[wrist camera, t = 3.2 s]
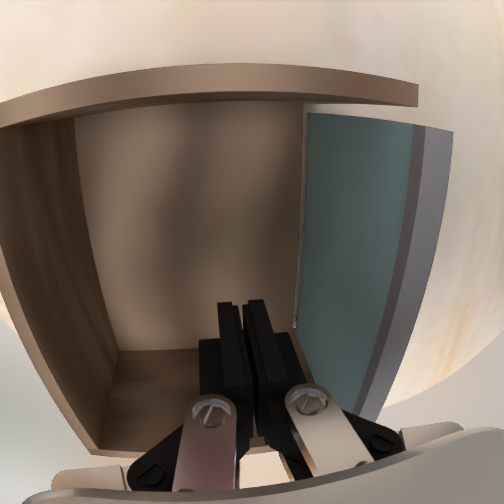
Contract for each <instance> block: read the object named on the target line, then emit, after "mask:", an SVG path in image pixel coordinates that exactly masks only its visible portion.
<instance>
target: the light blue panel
mask: <svg viewBox="0 0 504 504" xmlns="http://www.w3.org/2000/svg"><path fill="white" fill-rule="evenodd" d="M452 144H453V132H451V131H447V130H442V129H437V128H431V127H426V126H420V125H415V124H409V123H402V122H396V121H389V120H381V119H374V118H365V117H356V116H346V115H335V114H321V113H308V143H307V173H306V196H305V216H304V233H303V249H302V263H301V277H300V289H299V301H298V313H297V323H296V335H297V338H298V340H299V343H300V345H301V348H302V350H303V353H304V355H305V358H306V360H307V363H308V365H309V368H310V371H311V373H312V376H313V378H314V381H315V383H316V385H320V386H322V387H324V388H325V389H327V390H328V391H329V392H330V393H331V395H332V396H333V398H334V399H335V401H336V403H337V404H338V406H339V407H340V409H342V410H345V411H347V412H350V413H352V414H354V415H357V416H359V417H362V418H364V419H367V420H369V421H372V422H374V423H375V421H376V419H377V417H378V415H379V413H380V411H381V409H382V407H383V405H384V402H385V400H386V398H387V396H388V393H389V391H390V389H391V386H392V384H393V382H394V379H395V377H396V374H397V372H398V369H399V367H400V364H401V362H402V359H403V356H404V354H405V351H406V348H407V346H408V343H409V340H410V337H411V334H412V331H413V328H414V325H415V322H416V319H417V316H418V313H419V310H420V307H421V303H422V300H423V297H424V293H425V290H426V286H427V282H428V279H429V275H430V271H431V267H432V263H433V259H434V255H435V251H436V246H437V242H438V237H439V232H440V227H441V222H442V217H443V211H444V206H445V200H446V193H447V187H448V180H449V172H450V164H451V155H452Z"/></svg>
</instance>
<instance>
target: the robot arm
mask: <svg viewBox="0 0 504 504" xmlns="http://www.w3.org/2000/svg"><path fill="white" fill-rule="evenodd" d="M217 312H218V324H219V336H220V338H214V339H199V384H200V397H198V398H196V399H194V400H193V401H192V402H191V403H190V404H189V405H188V408H187V410H186V415H185V420H184V423H183V424H182V425H181V426H179V427H178V428H177V429H176V430H174V431H173V432H172V433H171V434H169V435H168V436H167V437H166V438H164V439H163V440H162V441H161V442H159V443H158V444H157V445H155V446H154V447H153V448H152V449H150V450H149V451H148V452H146V453H145V454H144V455H142V456H141V457H140V458H138V459H137V460H136V461H135V462H134V463H133V464H132V465H131V466H126V467H121V466H120V465H115V466H106V467H96V468H86V469H73V470H64V471H61V472H59V473H58V474H56V475H55V477H54V478H53V480H52V485H51V490H48V491H44V492H40V493H37V494H35V495H32V496H30V497H28V498H27V499H26V500H25V501H24V502H23V503H22V504H504V430H502V429H499V428H494V427H483V428H482V427H480V428H472V429H466V430H464V429H463V428H462V427H461V426H460V425H459V424H457V423H454V422H442V423H436V424H430V425H423V426H416V427H409V428H401V430H400V431H396V432H395V431H393V430H392V429H389V428H387V427H385V426H382V425H379V424H377V423H374V422H372V421H369V420H367V419H364V418H362V417H359V416H357V415H354V414H352V413H350V412H347V411H345V410H342V409H340V407H339V406H338V404H337V403H336V401H335V399H334V398H333V396H332V395H331V393H330V392H329V391H328V390H327V389H325V388H324V387H322V386H320V385H316V384H310V383H307V381H306V378H305V375H304V372H303V370H302V367H301V364H300V362H299V359H298V356H297V354H296V351H295V348H294V346H293V343H292V340H291V337H290V335H289V333H288V332H280V333H274V331H273V328H272V325H271V322H270V319H269V315H268V312H267V309H266V306H265V303H264V300H263V299H256V300H248V304H243V305H242V314H243V328H242V323H241V318H240V313H239V307H238V305H232V301H230V302H217ZM253 414H254V420H255V425H256V430H257V435H258V437H264V440H265V445H267V444H269V447H271V448H272V449H274V450H276V451H278V452H279V457H280V459H281V461H282V463H283V466H284V468H285V470H286V472H287V475H288V477H289V479H290V481H291V482H288V483H281V484H275V485H269V486H260V487H252V488H243V489H239V486H240V459H241V458H242V457H243V456H244V455H245V454H246V453H247V452H248V451H249V450H250V438H253Z"/></svg>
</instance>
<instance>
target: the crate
mask: <svg viewBox="0 0 504 504" xmlns="http://www.w3.org/2000/svg"><path fill="white" fill-rule="evenodd" d="M303 103H314V104H374V105H393V106H407V107H418V84H414V83H410V82H406V81H401V80H396V79H392V78H387V77H381V76H376V75H370V74H364V73H358V72H351V71H344V70H336V69H328V68H319V67H308V66H296V65H280V64H246V63H234V64H200V65H184V66H171V67H161V68H152V69H143V70H136V71H129V72H122V73H116V74H110V75H104V76H99V77H94V78H89V79H84V80H80V81H75V82H71V83H66V84H62V85H58V86H54V87H51V88H47V89H43V90H40V91H36V92H33V93H30V94H26V95H23V96H20V97H17V98H14V99H11V100H8V101H5V102H2V103H0V291H1V294H2V297H3V299H4V302H5V304H6V307H7V309H8V312H9V314H10V317H11V319H12V321H13V324H14V326H15V328H16V330H17V332H18V335H19V337H20V339H21V341H22V343H23V345H24V347H25V349H26V351H27V353H28V355H29V357H30V359H31V361H32V363H33V365H34V367H35V369H36V371H37V372H38V374H39V376H40V378H41V380H42V381H43V383H44V385H45V386H46V388H47V390H48V392H49V393H50V395H51V397H52V398H53V400H54V402H55V403H56V405H57V406H58V408H59V410H60V411H61V413H62V414H63V416H64V417H65V419H66V420H67V422H68V423H69V425H70V426H71V428H72V429H73V431H74V432H75V433H76V435H77V436H78V438H79V439H80V440H81V442H82V443H83V444H84V446H85V447H86V448H87V450H88V451H89V452H90V454H91V455H100V456H110V457H124V458H140V457H141V456H142V455H144V454H145V453H146V452H148V451H149V450H150V449H152V448H153V447H154V446H155V445H157V444H158V443H159V442H161V441H162V440H163V439H164V438H166V437H167V436H168V435H169V434H171V433H172V432H173V431H174V430H176V429H177V428H178V427H179V426H181V425H182V424H183V423H184V420H185V415H186V410H187V408H188V405H189V404H190V403H191V402H192V401H193V400H194V399H196V398H198V397H200V384H199V339H214V338H220V336H219V324H218V312H217V302H230V301H232V305H238V307H239V313H240V318H241V323H242V328H243V314H242V305H243V304H248V300H256V299H263V300H264V303H265V306H266V309H267V312H268V315H269V319H270V322H271V325H272V328H273V331H274V333H280V332H288V333H289V335H290V337H291V340H292V343H293V346H294V348H295V351H296V354H297V356H298V359H299V362H300V364H301V367H302V370H303V372H304V375H305V378H306V381H307V383H310V384H316V383H315V381H314V378H313V376H312V373H311V371H310V368H309V365H308V363H307V360H306V358H305V355H304V353H303V350H302V348H301V345H300V343H299V340H298V338H297V335H296V329H292V324H293V312H294V299H295V286H296V271H297V256H298V239H299V221H300V200H301V175H302V142H303ZM272 451H276V450H274V449H272V448H271V447H269V444H267V445H265V440H264V437H258V435H257V430H256V425H255V420H254V414H253V438H250V450H249V451H248V452H247V453H246V454H245V455H249V454H257V453H265V452H272Z"/></svg>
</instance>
